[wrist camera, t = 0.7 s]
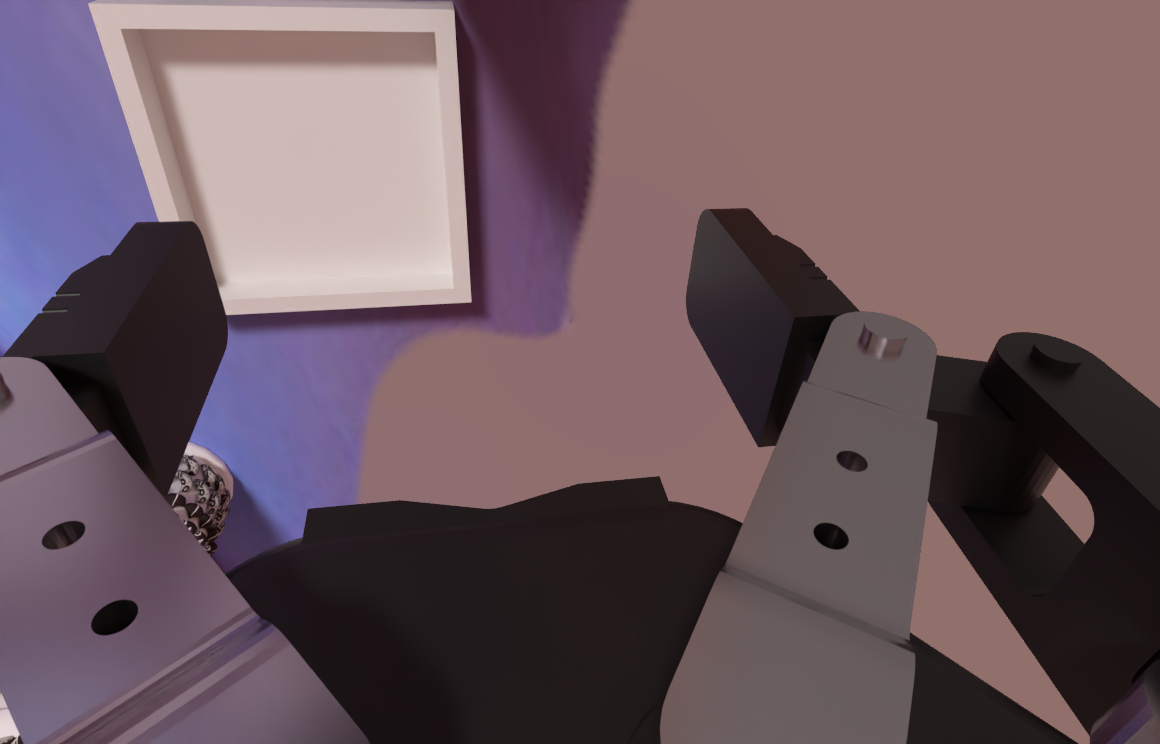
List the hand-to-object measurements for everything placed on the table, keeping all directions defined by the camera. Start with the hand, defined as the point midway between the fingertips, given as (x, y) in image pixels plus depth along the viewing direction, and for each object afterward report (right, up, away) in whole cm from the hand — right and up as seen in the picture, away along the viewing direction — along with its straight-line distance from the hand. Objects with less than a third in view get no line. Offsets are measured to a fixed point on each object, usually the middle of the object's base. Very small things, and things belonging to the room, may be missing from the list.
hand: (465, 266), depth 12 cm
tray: (-13, +10, +27) cm, 32 cm away
